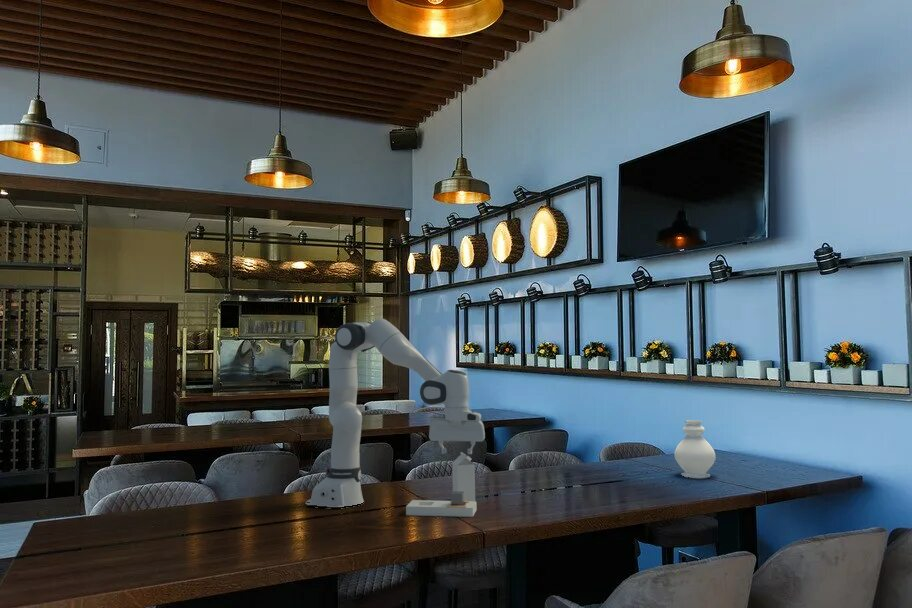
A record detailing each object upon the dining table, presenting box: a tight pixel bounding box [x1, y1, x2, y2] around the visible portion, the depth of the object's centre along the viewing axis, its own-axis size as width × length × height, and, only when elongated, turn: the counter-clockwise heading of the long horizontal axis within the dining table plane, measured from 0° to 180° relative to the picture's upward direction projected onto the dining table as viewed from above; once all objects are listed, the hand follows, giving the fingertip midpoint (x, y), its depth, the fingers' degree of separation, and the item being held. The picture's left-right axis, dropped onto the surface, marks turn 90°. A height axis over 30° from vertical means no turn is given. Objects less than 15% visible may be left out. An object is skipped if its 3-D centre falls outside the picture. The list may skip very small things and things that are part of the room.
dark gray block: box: [450, 490, 464, 506], centre depth 237 cm, size 4×4×7 cm
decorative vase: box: [673, 419, 717, 479], centre depth 304 cm, size 18×18×25 cm
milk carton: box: [451, 451, 476, 501], centre depth 258 cm, size 7×7×19 cm
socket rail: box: [405, 499, 478, 518], centre depth 238 cm, size 24×10×4 cm, turn 81°
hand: (456, 453), depth 239 cm, fingers open, 8 cm apart
